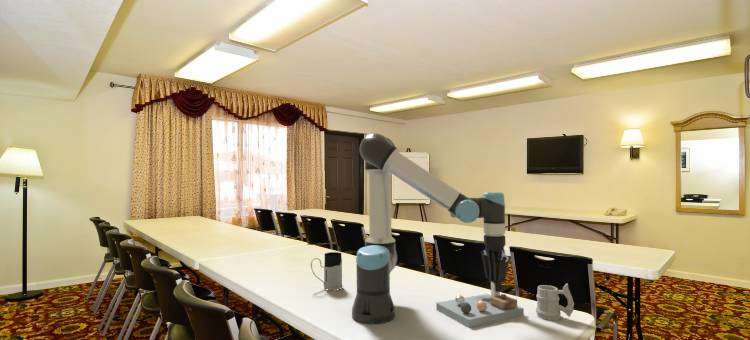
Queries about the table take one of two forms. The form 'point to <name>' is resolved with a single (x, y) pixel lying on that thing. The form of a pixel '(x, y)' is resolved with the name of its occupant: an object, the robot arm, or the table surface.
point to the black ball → (465, 307)
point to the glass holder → (332, 271)
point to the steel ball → (459, 300)
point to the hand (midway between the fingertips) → (495, 299)
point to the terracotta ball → (481, 306)
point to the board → (477, 311)
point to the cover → (503, 302)
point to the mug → (552, 302)
